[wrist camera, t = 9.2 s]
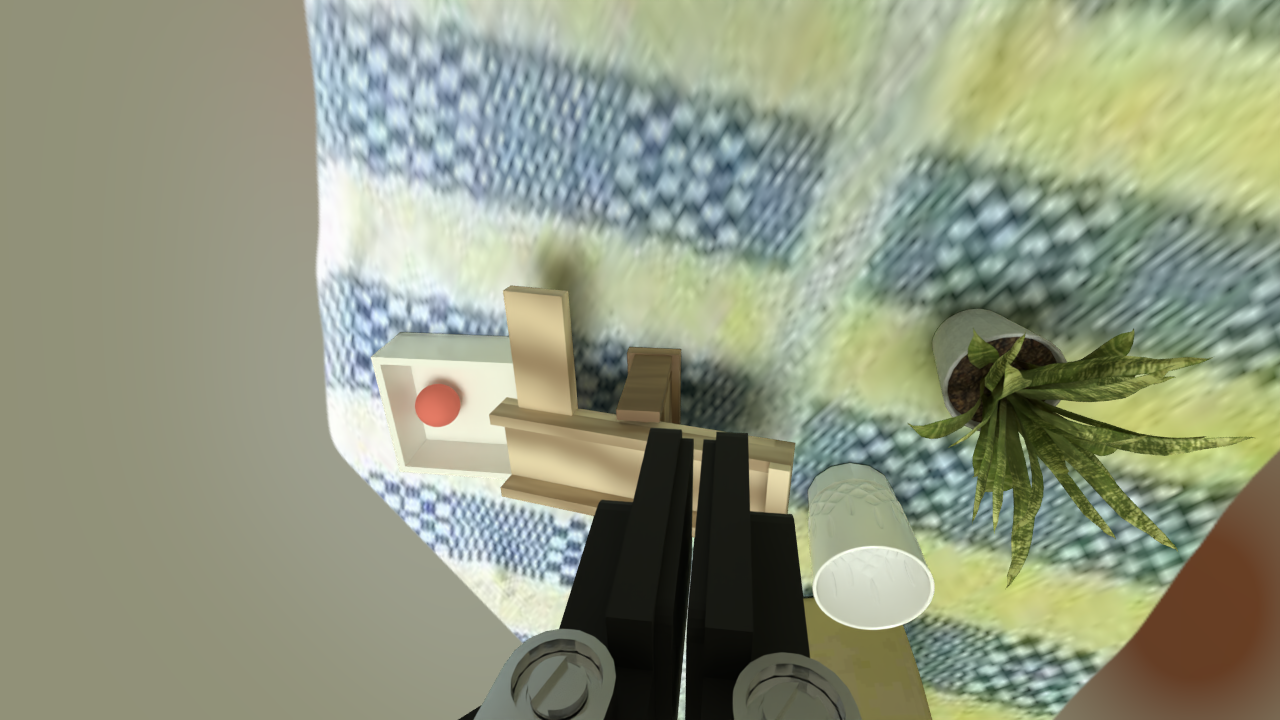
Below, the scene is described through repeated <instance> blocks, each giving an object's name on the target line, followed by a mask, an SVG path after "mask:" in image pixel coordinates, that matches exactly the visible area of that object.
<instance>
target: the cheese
mask: <svg viewBox="0 0 1280 720" xmlns="http://www.w3.org/2000/svg"><path fill="white" fill-rule="evenodd" d="M803 600H804V608H805V617H806V625H807V634H808V642H809V651H810V658H811V659H813V660H816V661H818V662H820V663H821V664H823V665H824V666H826V667H827V668H829V669H830V670H831V671H833V672H834V673H835V674H836V675H837V676H838V677H839V678H840V679H841V680H842V681H843V683H844V684H845V685H846V686H847V687H848V688H849V690H850V692H851V694H852V696H853V698H854V700H855V702H856V704H857V706H858V709H859V712H860V715H861V718H862V720H932V717H931V713H930V710H929V706H928V702H927V699H926V695H925V691H924V688H923V684H922V681H921V678H920V674H919V671H918V668H917V665H916V662H915V659H914V656H913V653H912V650H911V647H910V644H909V641H908V638H907V635H906V632H905V630H904V627H903V625H900V626H897V627H893V628H889V629H881V630H865V629H858V628H853V627H849V626H846V625H843V624H841V623H839V622H837V621H835V620H833V619H832V618H830V617H829V616H828V615H826V614H825V613H824V612H823V611H822V610H821V609H820V607H819V606H818V604H817V603H816V601H815V598H814V597H813V598H805V599H803Z"/></svg>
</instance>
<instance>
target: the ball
mask: <svg viewBox="0 0 1280 720" xmlns="http://www.w3.org/2000/svg"><path fill="white" fill-rule="evenodd" d="M415 411H416V414H417V416H418V417H419V419H420V420H421V421H422V422H423V423H425V424H426V425H429V426H432V427H442V426H446V425H448V424H450V423H451V422H453V421H454V420H455V419H456V417H457V416H458V414H459V411H460V399H459V396H458V394H457V393H456V392H455V390H453V389H452V388H451V387H449V386H447V385H444V384H433V385H429V386H427V387H425V388H424V389H423V390H422V391H421V392H420V393H419V394H418V396H417V398H416V401H415Z"/></svg>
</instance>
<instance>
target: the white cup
mask: <svg viewBox="0 0 1280 720" xmlns="http://www.w3.org/2000/svg"><path fill="white" fill-rule="evenodd" d="M808 508H809V517H808V533H809V550H810V561H811V574H812V586H813V595H814V598H815V601H816V603H817V604H818V606H819V607H820V609H821V610H822V611H823V612H824V613H825V614H826V615H828V616H829V617H830V618H832V619H833V620H835V621H837V622H839V623H841V624H843V625H846V626H849V627H853V628H858V629H865V630H881V629H889V628H893V627H897V626H900V625H903V624H905V623H908V622H910V621H912V620H913V619H915V618H916V617H918V616H919V615H920V614H921V613H923V612H924V611H925V609H926V608H927V607H928V606H929V604H930V602H931V600H932V598H933V595H934V580H933V576H932V574H931V572H930V570H929V567H928V565H927V563H926V560H925V558H924V556H923V553H922V551H921V549H920V546H919V544H918V542H917V539H916V537H915V535H914V532H913V530H912V528H911V526H910V524H909V522H908V520H907V517H906V515H905V514H904V511H903V509H902V507H901V505H900V503H899V501H898V500H897V499H896V496H895V494H894V491H893V489H892V487H891V486H890V484H889V482H888V481H887V479H886V477H885V476H884V475H883V474H882V473H880V472H878V471H877V470H875V469H873V468H872V467H870V466H866V465H860V464H853V463H847V464H842V465H837V466H833V467H830V468H828V469H827V470H825V471H824V472H822V473H821V474H819V475H818V476H816V477H815V479H814V481H813V482H812V484H811V486H810V488H809V489H808Z"/></svg>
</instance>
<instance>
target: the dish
mask: <svg viewBox="0 0 1280 720" xmlns="http://www.w3.org/2000/svg"><path fill="white" fill-rule="evenodd" d="M371 359H372V363H373V367H374V371H375V375H376V379H377V383H378V387H379V391H380V395H381V399H382V403H383V407H384V411H385V415H386V419H387V423H388V427H389V431H390V435H391V439H392V443H393V447H394V451H395V455H396V459H397V463H398V466H399V470H400V472H410V473H423V474H437V475H450V476H464V477H477V478H491V479H504V480H507V479H508V478H509V477H510V476H511V475H512V473H511V467H510V460H509V453H508V447H507V440H506V433H505V427H502V426H496V425H491V424H490V418H489V414H490V413H491V412H492V411H493V410H494V409H495V408H496V407H497V406H498V405H499V404H500V403H501V402H502V401H503V400H504V399H505V398H506V397H509V398H515V399H517V391H516V384H515V376H514V369H513V361H512V354H511V346H510V339H509V337H508V336H482V335H457V334H432V333H407V332H400V333H399V334H398V335H397V336H395V337H394V338H393V339H392V340H391V341H389V342H388V343H387V344H386V345H385V346H383V347H382V348H381V349H380V350H379V351H377V352H376V353H375V354H374V355H373V356H371ZM433 384H444V385H447V386H449V387H451V388H452V389H453V390H455V392H456V393H457V394H458V396H459V399H460V411H459V414H458V416H457V417H456V419H455V420H454V421H453V422H451V423H450V424H448V425H446V426H442V427H432V426H429V425H426V424H425V423H423V422H422V421H421V420H420V419H419V417H418V416H417V414H416V411H415V401H416V398H417V396H418V394H419V393H420V392H421V391H422V390H423V389H424V388H425V387H427V386H429V385H433Z"/></svg>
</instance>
